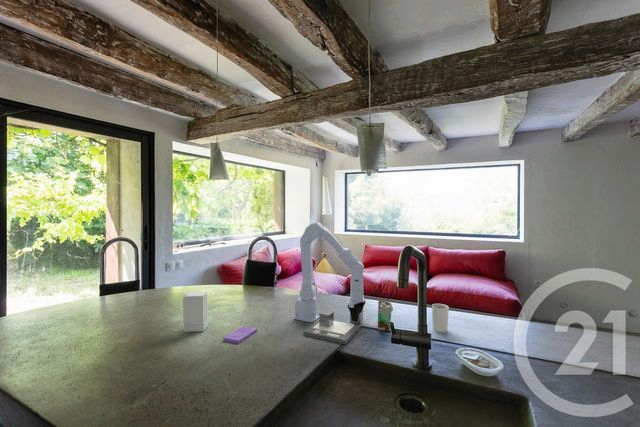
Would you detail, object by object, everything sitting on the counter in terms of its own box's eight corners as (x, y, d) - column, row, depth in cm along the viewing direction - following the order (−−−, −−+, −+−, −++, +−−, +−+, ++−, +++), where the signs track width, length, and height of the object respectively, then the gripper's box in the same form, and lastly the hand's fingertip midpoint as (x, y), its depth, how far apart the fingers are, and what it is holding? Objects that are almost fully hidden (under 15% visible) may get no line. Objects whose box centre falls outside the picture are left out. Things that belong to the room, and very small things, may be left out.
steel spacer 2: (349, 323, 136) (350, 311, 136) (353, 319, 140) (353, 309, 140) (359, 325, 134) (359, 313, 134) (362, 321, 138) (363, 310, 138)
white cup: (450, 333, 126) (450, 309, 125) (432, 332, 127) (433, 307, 127) (446, 327, 132) (447, 304, 132) (430, 326, 133) (430, 303, 133)
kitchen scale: (303, 335, 122) (303, 330, 122) (321, 321, 137) (321, 317, 137) (345, 344, 114) (345, 339, 114) (359, 329, 129) (359, 324, 129)
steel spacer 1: (319, 325, 127) (319, 313, 127) (323, 321, 131) (324, 310, 131) (329, 327, 125) (329, 315, 125) (333, 323, 129) (333, 311, 129)
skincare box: (208, 326, 130) (208, 291, 130) (203, 332, 124) (203, 295, 124) (188, 326, 129) (188, 291, 129) (182, 332, 123) (182, 295, 123)
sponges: (223, 342, 116) (223, 337, 116) (242, 329, 128) (243, 325, 128) (238, 345, 114) (238, 340, 114) (257, 332, 125) (257, 328, 125)
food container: (393, 334, 124) (393, 309, 124) (377, 332, 125) (378, 308, 125) (392, 323, 136) (392, 300, 136) (378, 322, 138) (378, 299, 137)
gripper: (360, 293, 128) (359, 326, 128) (370, 286, 141) (370, 315, 141) (344, 291, 131) (343, 323, 131) (355, 284, 144) (355, 313, 144)
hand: (356, 319), depth 137 cm, fingers closed on steel spacer 2, 4 cm apart
